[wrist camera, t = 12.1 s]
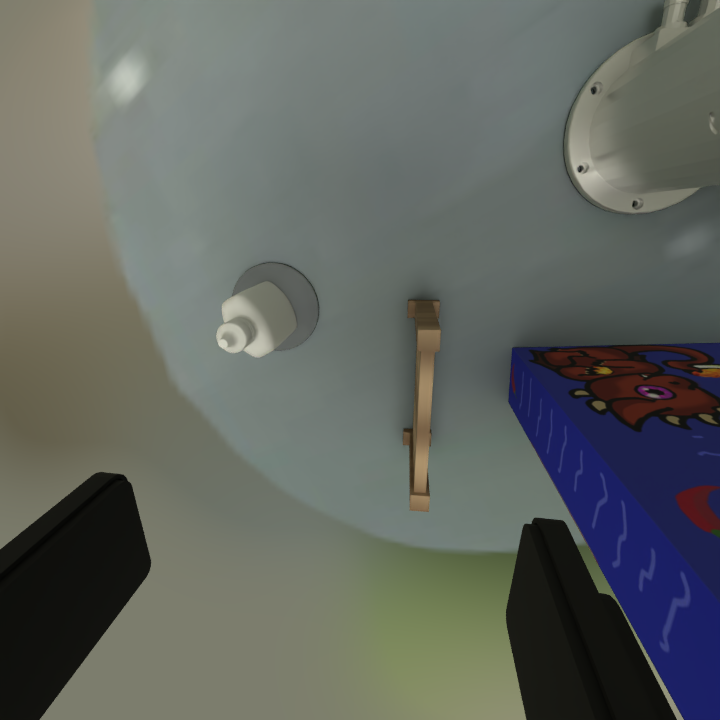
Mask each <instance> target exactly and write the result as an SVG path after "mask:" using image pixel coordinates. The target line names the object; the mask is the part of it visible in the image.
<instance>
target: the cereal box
mask: <svg viewBox="0 0 720 720" xmlns="http://www.w3.org/2000/svg"><path fill="white" fill-rule="evenodd" d="M508 402H509V404H510V406H511V407H512V409H513V411H514V413H515V415H516V417H517V418H518V420H519V422H520V424H521V426H522V427H523V429H524V431H525V433H526V435H527V436H528V438H529V440H530V442H531V444H532V446H533V447H534V449H535V451H536V453H537V455H538V456H539V458H540V460H541V462H542V464H543V465H544V467H545V469H546V471H547V473H548V475H549V476H550V478H551V480H552V482H553V484H554V485H555V487H556V489H557V491H558V493H559V494H560V496H561V498H562V500H563V502H564V503H565V505H566V507H567V509H568V511H569V513H570V514H571V516H572V518H573V520H574V522H575V523H576V525H577V527H578V529H579V531H580V532H581V534H582V536H583V538H584V540H585V542H586V543H587V545H588V547H589V549H590V550H591V552H592V554H593V556H594V558H595V559H596V561H597V563H598V565H599V567H600V569H601V570H602V572H603V574H604V576H605V578H606V580H607V581H608V583H609V585H610V586H611V588H612V590H613V592H614V594H615V596H616V598H617V599H618V601H619V603H620V605H621V607H622V608H623V610H624V612H625V614H626V616H627V618H628V619H629V621H630V623H631V625H632V627H633V628H634V630H635V632H636V634H637V636H638V638H639V639H640V641H641V643H642V645H643V647H644V648H645V650H646V652H647V654H648V656H649V657H650V659H651V661H652V663H653V664H654V666H655V668H656V670H657V672H658V674H659V676H660V677H661V679H662V681H663V683H664V685H665V686H666V688H667V690H668V692H669V694H670V695H671V697H672V699H673V701H674V703H675V704H676V706H677V708H678V710H679V712H680V713H681V715H682V717H683V719H684V720H720V343H693V344H650V345H608V346H566V347H523V348H512V360H511V373H510V387H509V401H508Z"/></svg>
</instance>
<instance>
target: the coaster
mask: <svg viewBox="0 0 720 720" xmlns="http://www.w3.org/2000/svg"><path fill="white" fill-rule="evenodd" d="M266 281H268V282H271V283H273V284H274V285H275V286H277V287H278V288H279V289H280V290H281V291H282V292H283V293H284V294H285V296H286V297H287V298H288V300H289V302H290V303H291V305H292V308H293V310H294V313H295V316H296V321H297V327H296V329H295V330H294V331H293V332H292V333H291V334H290V335H289V336H288V337H287V338H286V339H285V340H284V341H283V342H282V343H281V344H280V345H279V346H278V347H276V348H275V349H274V350H277V351H281V350H289V349H292V348H294V347H297V346H299V345H300V344H302V343H303V342H304V341H305V340H306V339H307V338H308V337H309V336H310V335H311V334H312V332H313V330H314V329H315V326H316V324H317V321H318V316H319V304H318V299H317V296H316V293H315V291H314V289H313V287H312V285H311V284H310V282H309V281H308V280H307V279H306V277H305V276H303V275H302V274H301V273H300V272H299V271H297V270H296V269H294V268H292V267H290V266H287V265H285V264H280V263H264V264H260V265H257V266H254V267H252V268H251V269H249V270H247V271H246V272H245V273H244V274H243V275H242V276H241V277H240V278H239V280H238V281H237V283H236V285H235V287H234V290H233V294H232V296H234V295H236V294H238V293H240V292H242V291H244V290H246V289H249V288H251V287H253V286H256V285H258V284H260V283H263V282H266Z"/></svg>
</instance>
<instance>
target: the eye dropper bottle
mask: <svg viewBox="0 0 720 720" xmlns="http://www.w3.org/2000/svg"><path fill="white" fill-rule="evenodd" d="M222 315H223V320H224V324H222V325H221V326H220V327H219V329H218V330H217V334H216V335H217V336H216V337H217V341H218V344H219V346H220V347H221V348H223V349H224V350H225V351H227V352H230V353H237V352H240V351H242V350H244V351H245V352H247V353H248V354H250V355H251V356H253V357H256V358H258V357H262V356H264V355H266V354H268V353H270V352H271V351H273V350H274V349H275V348H276V347H278V346H279V345H280V344H281V343H282V342H283V341H284V340H285V339H286V338H287V337H288V336H289V335H290V334H291V333H292V332H293V331H294V330H295V329H296V327H297V321H296V316H295V313H294V310H293V308H292V305H291V303H290V302H289V300H288V298H287V297H286V296H285V294H284V293H283V292H282V291H281V290H280V289H279V288H278V287H277V286H275V285H274V284H273V283H271V282H268V281H266V282H263V283H260V284H258V285H256V286H253V287H251V288H249V289H246V290H244V291H242V292H240V293H238V294H236V295H234V296H232V297H231V298H229V299H227V300H226V301H225V302H224V303H223V304H222Z"/></svg>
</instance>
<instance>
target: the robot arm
mask: <svg viewBox="0 0 720 720" xmlns="http://www.w3.org/2000/svg"><path fill="white" fill-rule="evenodd" d="M688 3H689V0H665V2H664V7H663V11H664V13H663V17H662V22H661V26H660V27H658V28H657V29H656V30H655V32H652V33H650V34H648V35H645V36H643V37H641V38H638V39H636V40H634V41H632V42H631V43H629V44H628V45H626V46H625V47H623V48H621V49H620V50H618V51H617V52H616V53H615V54H613V55H612V56H611V57H610V58H608V59H607V60H606V61H605V62H604V63H603V64H602V65H601V66H600V67H599V68H598V69H597V70H596V71H595V72H594V73H593V74H592V75H591V77H590V78H589V80H588V81H587V82H586V84H585V85H584V86H583V88H582V89H581V91H580V93H579V95H578V97H577V99H576V101H575V102H574V104H573V106H572V109H571V112H570V115H569V118H568V121H567V124H566V131H565V137H564V157H565V162H566V166H567V171H568V173H569V176H570V178H571V180H572V182H573V184H574V186H575V187H576V188H577V190H578V191H579V192H580V194H581V195H582V196H583V197H584V198H586V199H587V200H588V201H589V202H590V203H592V204H593V205H595V206H597V207H599V208H601V209H603V210H606V211H610V212H614V213H618V214H643V213H650V212H654V211H658V210H663V209H665V208H667V207H670V206H672V205H675V204H677V203H679V202H681V201H682V200H684V199H686V198H687V197H689V196H691V195H692V194H694V193H695V192H696V191H698V190H699V189H700V188H701V187H706V186H714V185H720V0H701V3H700V7H699V12H698V16H697V17H696V18H695V19H693V20H692V21H690V23H689V27H687V25H688V24H687V22H683V20H684V16H685V12H686V7H687V5H688ZM591 88H592V89H594V90H595V93H594V95H593V94H592V93H591ZM578 166H580V167H581V172H578V171H577V168H578ZM633 201H634V202H635V205H634V206H633V207H632V203H633ZM150 567H151V559H150V555H149V551H148V547H147V543H146V539H145V535H144V531H143V527H142V524H141V520H140V516H139V512H138V508H137V504H136V500H135V496H134V492H133V488H132V485H131V483H130V482H128V481H127V478H126V477H125V476H124V475H121V474H113V473H104V472H99V473H96V474H94V475H92V476H91V477H90V478H89V479H87V480H86V481H85V482H84V483H82V484H81V485H80V486H79V487H78V488H76V489H75V490H74V491H73V492H71V493H70V494H69V495H68V496H66V497H65V498H64V499H62V500H61V501H60V502H59V503H58V504H56V505H55V506H54V507H53V508H51V509H50V510H49V511H48V512H46V513H45V514H44V515H43V516H41V517H40V518H39V519H38V520H37V521H35V522H34V523H33V524H31V525H30V526H29V527H28V528H26V529H25V530H24V531H23V532H21V533H20V534H19V535H18V536H17V537H15V538H14V539H13V540H12V541H10V542H9V543H8V544H6V545H5V546H4V547H3V548H2V549H0V720H40V718H41V717H42V716H43V714H44V713H45V712H46V710H47V709H48V708H49V706H50V705H51V704H52V702H53V701H54V700H55V698H56V697H57V696H58V694H59V693H60V692H61V690H62V689H63V688H64V686H65V685H66V684H67V682H68V681H69V680H70V678H71V677H72V676H73V674H74V673H75V672H76V670H77V669H78V668H79V666H80V665H81V664H82V662H83V661H84V660H85V658H86V657H87V656H88V654H89V653H90V651H91V650H92V649H93V648H94V646H95V645H96V644H97V642H98V641H99V640H100V638H101V637H102V636H103V634H104V633H105V632H106V630H107V629H108V628H109V626H110V625H111V624H112V622H113V621H114V620H115V618H116V617H117V615H118V614H119V613H120V612H121V610H122V609H123V607H124V606H125V605H126V603H127V602H128V601H129V599H130V598H131V597H132V595H133V594H134V593H135V591H136V590H137V589H138V587H139V586H140V585H141V584H142V582H143V581H144V580H145V578H146V577H147V575H148V573H149V571H150ZM506 623H507V629H508V634H509V639H510V644H511V649H512V653H513V657H514V663H515V667H516V672H517V677H518V682H519V687H520V691H521V696H522V701H523V705H524V710H525V714H526V719H527V720H677V719H676V717H675V715H674V713H673V711H672V709H671V707H670V705H669V703H668V701H667V699H666V697H665V695H664V693H663V691H662V689H661V687H660V685H659V684H658V682H657V680H656V678H655V676H654V674H653V672H652V670H651V668H650V666H649V664H648V662H647V660H646V658H645V656H644V654H643V652H642V650H641V648H640V646H639V644H638V642H637V640H636V639H635V636H634V634H633V632H632V630H631V628H630V626H629V624H628V622H627V620H626V618H625V617H624V614H623V613H622V611H621V609H620V607H619V605H618V604H617V602H616V601H615V600H614V599H613V598H612V597H611V596H610V595H607V594H602V593H598V590H597V588H596V586H595V584H594V582H593V580H592V578H591V576H590V573H589V571H588V569H587V567H586V565H585V563H584V561H583V559H582V556H581V554H580V552H579V550H578V548H577V546H576V544H575V542H574V539H573V537H572V535H571V533H570V531H569V529H568V527H567V525H566V523H565V522H564V521H563V520H554V519H544V518H534V519H533V521H532V524H524V526H523V530H522V535H521V539H520V544H519V549H518V554H517V559H516V564H515V569H514V574H513V579H512V584H511V589H510V594H509V600H508V604H507V609H506Z"/></svg>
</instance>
